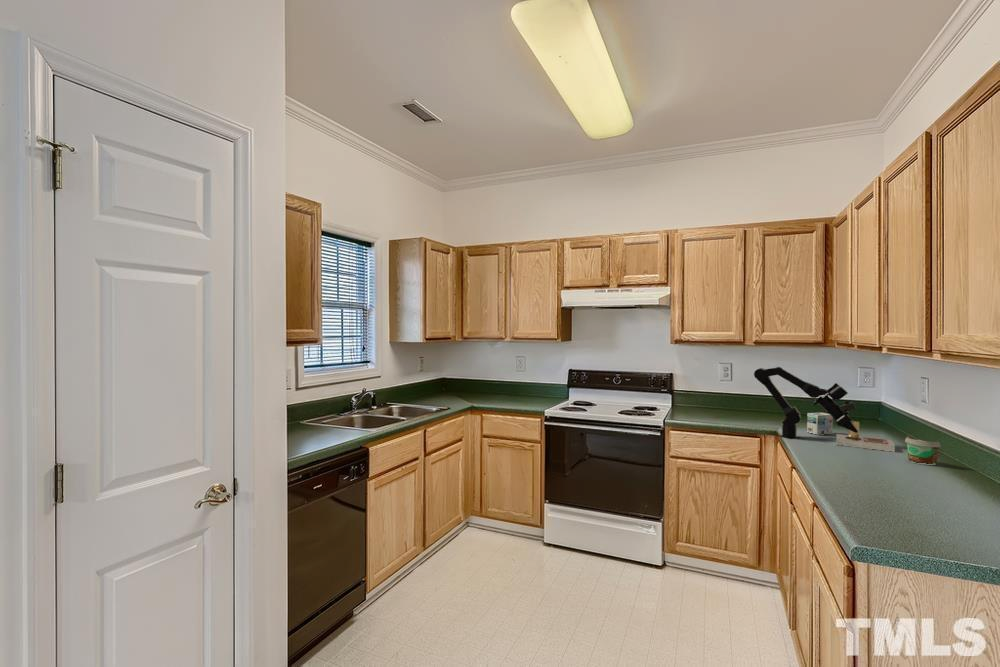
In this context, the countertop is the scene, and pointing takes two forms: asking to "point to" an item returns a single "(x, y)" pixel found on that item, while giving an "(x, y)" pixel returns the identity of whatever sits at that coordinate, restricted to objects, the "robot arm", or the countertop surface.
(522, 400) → the countertop surface
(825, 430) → the light bulb box
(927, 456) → the food container
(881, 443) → the socket plate
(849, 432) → the brass peg
